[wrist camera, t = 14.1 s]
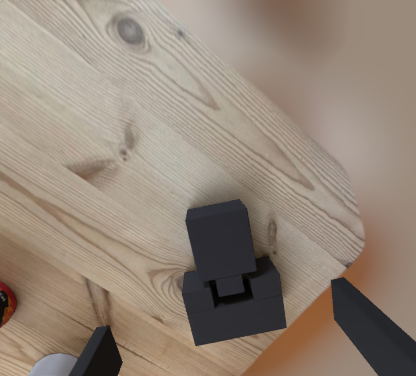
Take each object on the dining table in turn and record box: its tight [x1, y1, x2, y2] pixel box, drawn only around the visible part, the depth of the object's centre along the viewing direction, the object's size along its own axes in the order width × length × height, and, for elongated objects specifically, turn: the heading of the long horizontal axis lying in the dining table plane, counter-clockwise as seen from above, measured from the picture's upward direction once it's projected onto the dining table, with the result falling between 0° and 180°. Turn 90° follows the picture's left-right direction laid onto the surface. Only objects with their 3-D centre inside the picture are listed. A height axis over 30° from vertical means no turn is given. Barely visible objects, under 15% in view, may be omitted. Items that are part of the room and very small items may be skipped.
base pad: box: [182, 256, 287, 346], centre depth 26 cm, size 12×8×4 cm, turn 101°
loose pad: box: [185, 199, 257, 297], centre depth 25 cm, size 7×10×4 cm, turn 11°
